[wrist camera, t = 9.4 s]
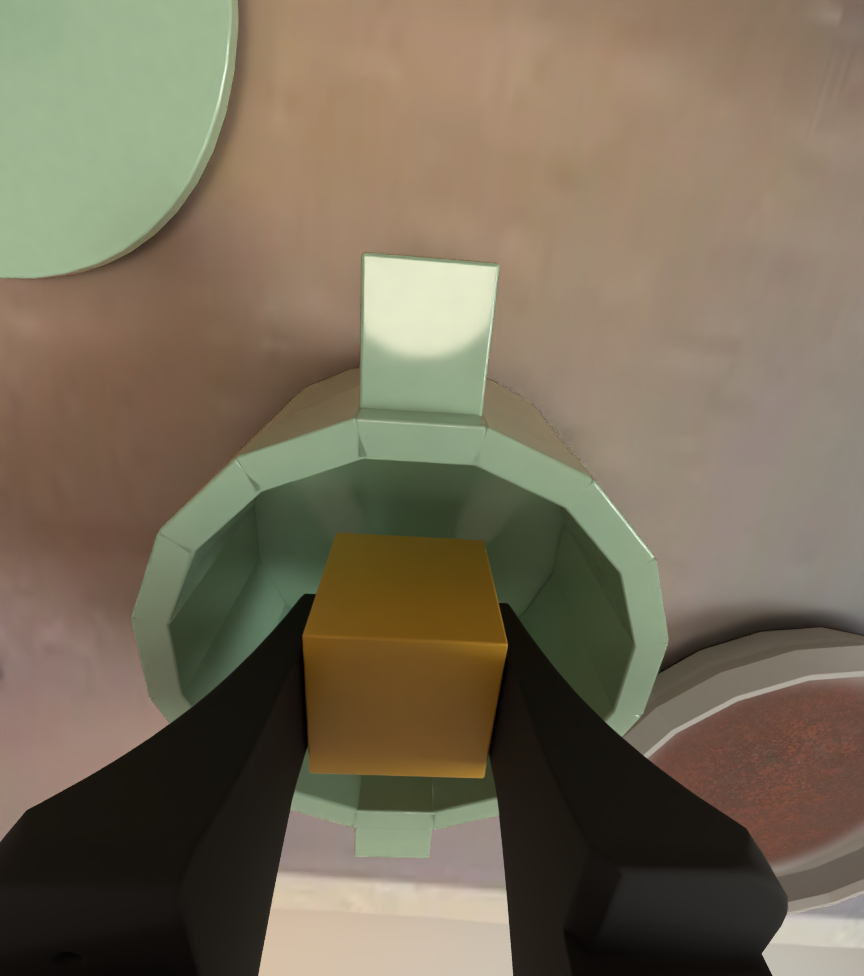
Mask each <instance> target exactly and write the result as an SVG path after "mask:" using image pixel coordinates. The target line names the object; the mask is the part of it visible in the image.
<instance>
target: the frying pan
mask: <svg viewBox="0 0 864 976" xmlns="http://www.w3.org/2000/svg"><path fill="white" fill-rule="evenodd" d="M622 738H624V739H625V740H626V741H627V742H628V743H629V744H631V745H632V746H633V747H634V748H635V749H637V750H638V751H639V752H640V753H641V754H642V755H644V756H645V757H646V758H647V759H649V760H650V761H651V762H652V763H654V764H655V765H656V766H657V767H659V768H660V769H661V770H663V771H664V772H665V773H667V774H668V775H669V776H671V777H672V778H673V779H675V780H676V781H677V782H679V783H680V784H682V785H683V786H684V787H686V788H687V789H688V790H690V791H691V792H692V793H694V794H695V795H697V796H698V797H700V798H701V799H703V800H704V801H706V802H707V803H709V804H710V805H712V806H714V807H715V808H717V809H718V810H720V811H721V812H723V813H724V814H726V815H727V816H729V817H730V818H732V819H733V820H735V821H736V822H738V823H739V824H741V825H742V826H744V827H745V828H747V830H748V831H749V833H750V834H751V836H752V838H753V839H754V841H755V842H756V844H757V845H758V847H759V848H760V850H761V851H762V853H763V854H764V856H765V858H766V859H767V861H768V863H769V865H770V866H771V868H772V870H773V872H774V874H775V875H776V877H777V879H778V881H779V882H780V884H781V886H782V888H783V889H784V891H785V893H786V894H787V896H788V911H787V915H790V914H795V913H799V912H804V911H808V910H812V909H817V908H821V907H826V906H830V905H834V904H837V903H840V902H842V901H845V900H847V899H850V898H853V897H855V896H858V895H860V894H863V893H864V636H862V635H857V634H852V633H847V632H842V631H838V630H833V629H828V628H823V627H817V628H804V629H791V630H778V631H764V632H758V633H755V634H752V635H749V636H745V637H742V638H739V639H736V640H732V641H729V642H726V643H723V644H719V645H716V646H713V647H710V648H706V649H703V650H700V651H698V652H696V653H694V654H693V655H691V656H689V657H687V658H686V659H684V660H682V661H680V662H679V663H677V664H675V665H673V666H672V667H670V668H668V669H666V670H664V671H663V672H661V673H659V674H657V676H656V679H655V682H654V685H653V687H652V690H651V693H650V696H649V699H648V701H647V704H646V707H645V710H644V713H643V714H642V715H641V717H640V719H639V720H638V721H637V722H636V723H635V724H634V725H633V726H632V727H631V728H630V729H629V730H628V731H627V732H626V733H625V734H624V736H623V737H622Z"/></svg>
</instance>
